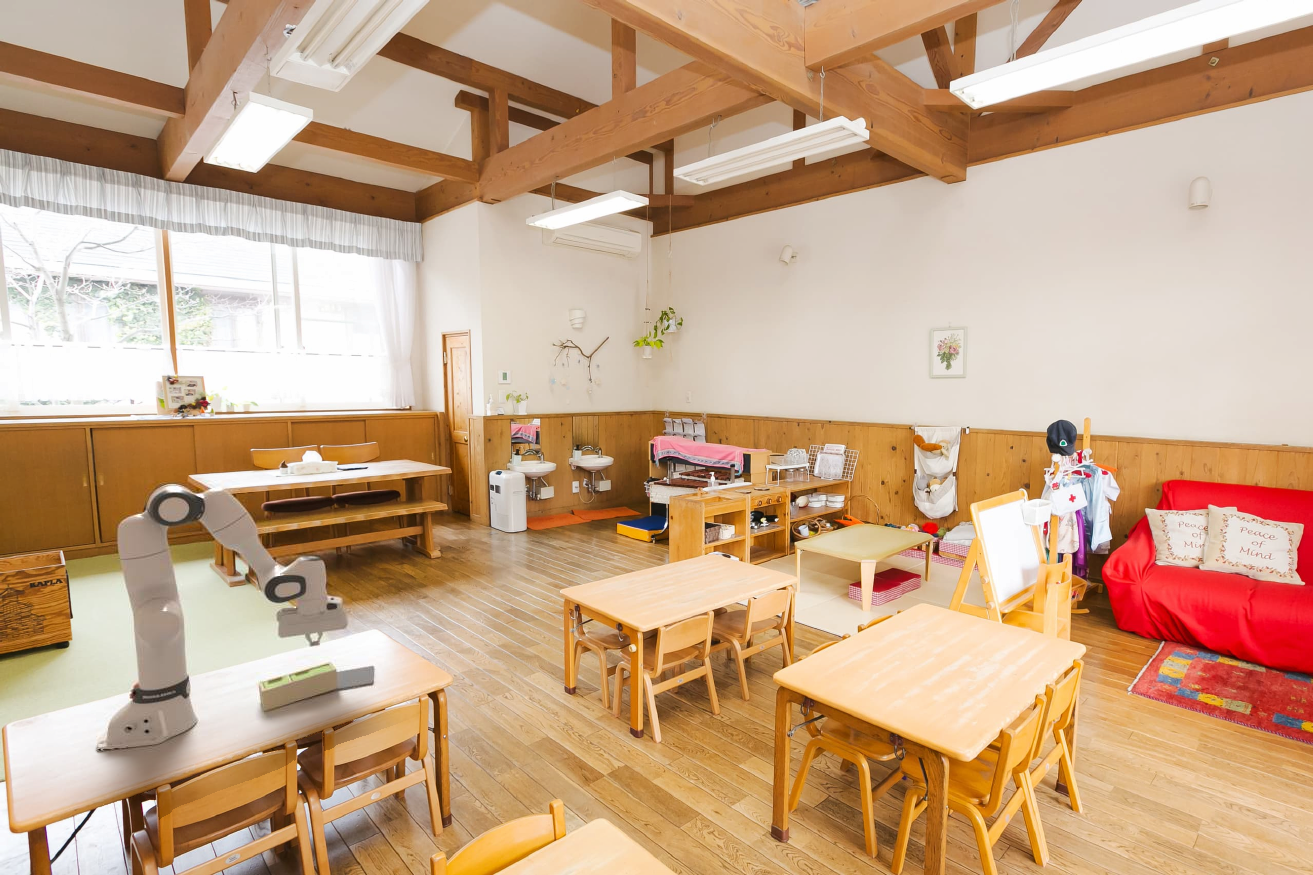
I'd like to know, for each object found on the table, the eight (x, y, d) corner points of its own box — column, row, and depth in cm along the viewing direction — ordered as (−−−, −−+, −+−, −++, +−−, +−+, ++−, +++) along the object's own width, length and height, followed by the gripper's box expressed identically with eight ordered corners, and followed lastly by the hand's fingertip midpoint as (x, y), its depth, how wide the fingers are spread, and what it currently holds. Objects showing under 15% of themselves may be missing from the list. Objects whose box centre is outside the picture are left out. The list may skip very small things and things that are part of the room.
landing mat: (315, 694, 205) (315, 692, 205) (319, 676, 218) (319, 674, 218) (372, 684, 212) (372, 682, 211) (373, 667, 224) (373, 665, 224)
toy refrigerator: (336, 667, 206) (261, 689, 193) (338, 688, 207) (264, 712, 194) (330, 659, 213) (257, 680, 200) (333, 679, 213) (260, 702, 200)
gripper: (274, 612, 201) (277, 654, 202) (346, 603, 209) (348, 643, 210) (277, 606, 207) (280, 647, 208) (347, 597, 215) (349, 636, 216)
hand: (314, 645), depth 209 cm, fingers closed
